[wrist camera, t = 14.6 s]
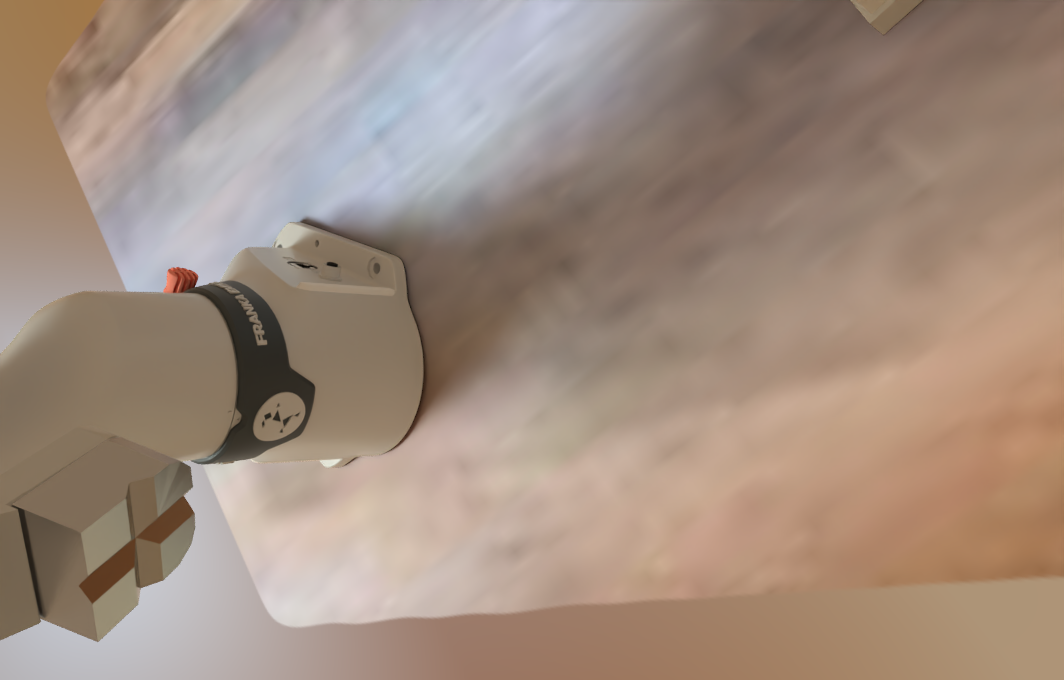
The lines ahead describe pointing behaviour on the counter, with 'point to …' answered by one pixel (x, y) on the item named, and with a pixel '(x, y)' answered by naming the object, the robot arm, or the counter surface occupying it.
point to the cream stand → (884, 12)
